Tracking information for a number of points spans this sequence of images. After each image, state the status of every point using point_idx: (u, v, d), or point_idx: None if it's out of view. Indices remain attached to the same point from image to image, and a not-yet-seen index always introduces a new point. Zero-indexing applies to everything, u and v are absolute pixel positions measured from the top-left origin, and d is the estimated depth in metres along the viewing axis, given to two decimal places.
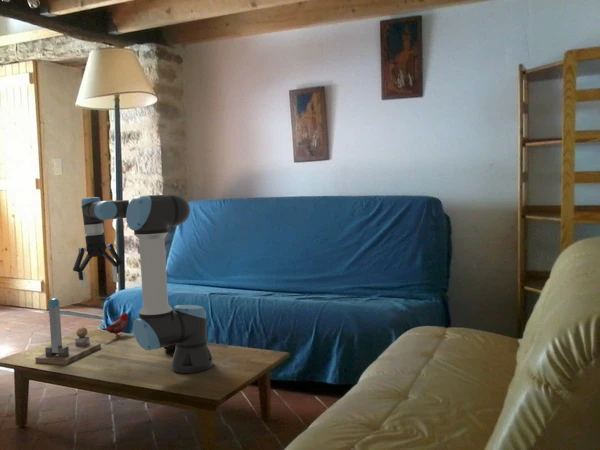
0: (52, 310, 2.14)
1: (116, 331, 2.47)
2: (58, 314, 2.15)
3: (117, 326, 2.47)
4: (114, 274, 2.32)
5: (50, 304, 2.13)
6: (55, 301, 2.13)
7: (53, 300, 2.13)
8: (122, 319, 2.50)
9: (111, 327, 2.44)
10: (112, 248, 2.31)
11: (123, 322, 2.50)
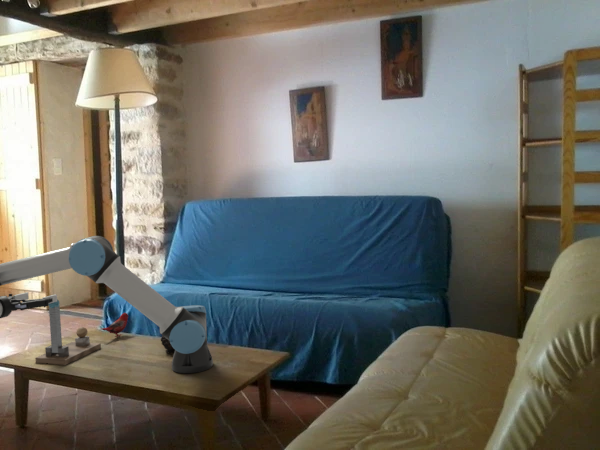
0: (52, 310, 2.14)
1: (116, 331, 2.47)
2: (58, 314, 2.15)
3: (117, 326, 2.47)
4: (21, 296, 2.07)
5: (50, 304, 2.13)
6: None
7: None
8: (122, 319, 2.50)
9: (111, 327, 2.44)
10: None
11: (123, 322, 2.50)
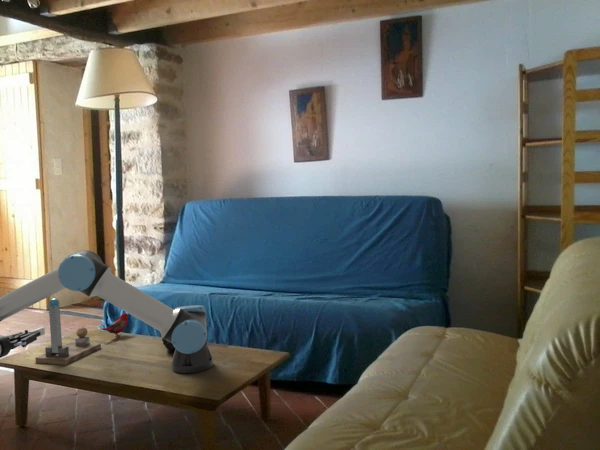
0: (52, 310, 2.14)
1: (116, 331, 2.47)
2: (58, 314, 2.15)
3: (117, 326, 2.47)
4: None
5: (50, 304, 2.13)
6: (55, 301, 2.13)
7: (53, 300, 2.13)
8: (122, 319, 2.50)
9: (111, 327, 2.44)
10: None
11: (123, 322, 2.50)
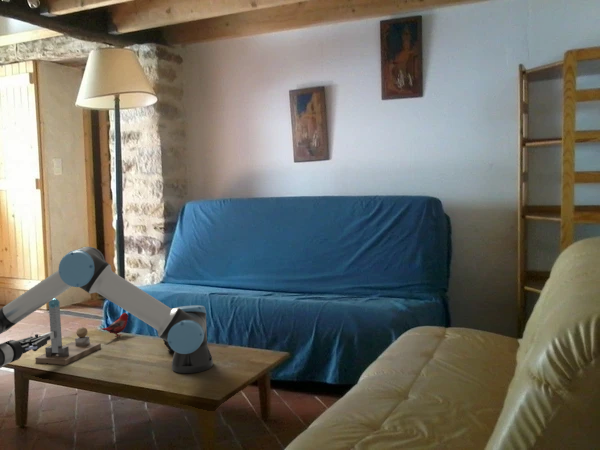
0: (52, 310, 2.14)
1: (116, 331, 2.47)
2: (58, 314, 2.15)
3: (117, 326, 2.47)
4: None
5: (50, 304, 2.13)
6: (55, 301, 2.13)
7: (53, 300, 2.13)
8: (122, 319, 2.50)
9: (111, 326, 2.44)
10: None
11: (123, 322, 2.50)
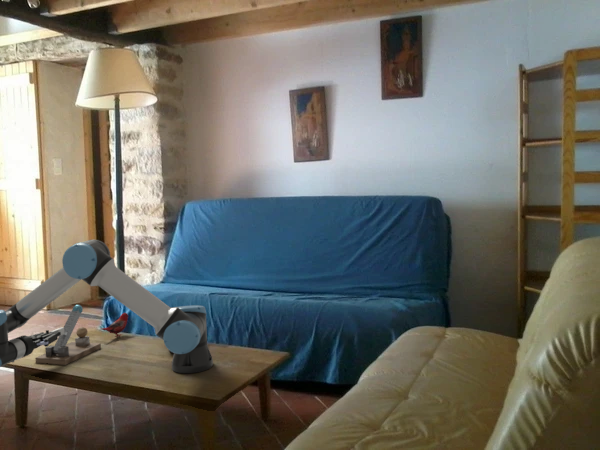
0: (73, 313, 2.26)
1: (116, 331, 2.47)
2: (76, 319, 2.25)
3: (117, 326, 2.47)
4: None
5: (75, 307, 2.27)
6: (80, 306, 2.28)
7: (79, 305, 2.28)
8: (122, 319, 2.50)
9: (111, 327, 2.44)
10: None
11: (123, 322, 2.50)
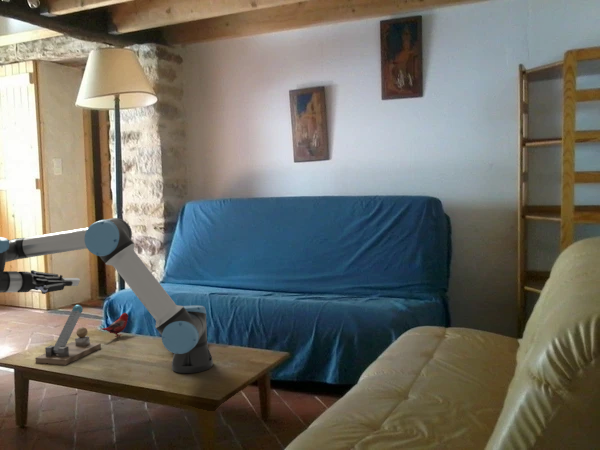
0: (73, 313, 2.26)
1: (116, 331, 2.47)
2: (76, 319, 2.25)
3: (117, 326, 2.47)
4: None
5: (75, 307, 2.27)
6: (80, 306, 2.28)
7: (79, 305, 2.28)
8: (122, 319, 2.50)
9: (111, 327, 2.44)
10: (36, 272, 2.05)
11: (123, 322, 2.50)
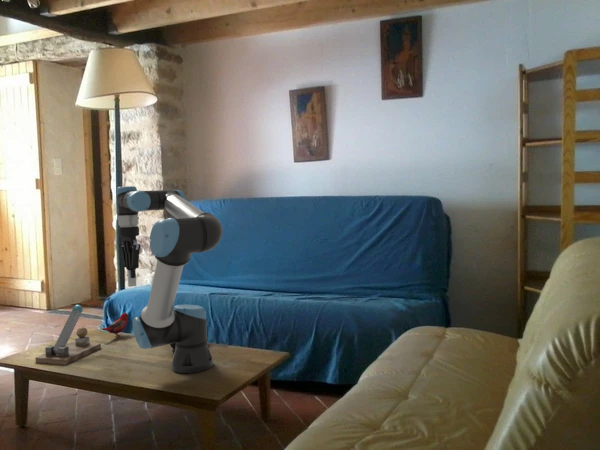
0: (73, 313, 2.26)
1: (116, 331, 2.47)
2: (76, 319, 2.25)
3: (117, 326, 2.47)
4: None
5: (75, 307, 2.27)
6: (80, 306, 2.28)
7: (79, 305, 2.28)
8: (122, 319, 2.50)
9: (111, 327, 2.44)
10: (133, 249, 2.07)
11: (123, 322, 2.50)
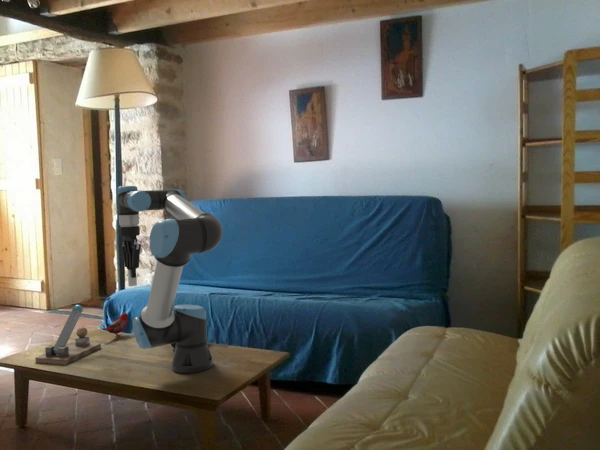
0: (73, 313, 2.26)
1: (116, 331, 2.47)
2: (76, 319, 2.25)
3: (117, 326, 2.47)
4: None
5: (75, 307, 2.27)
6: (80, 306, 2.28)
7: (79, 305, 2.28)
8: (122, 319, 2.50)
9: (111, 326, 2.44)
10: (133, 249, 2.07)
11: (123, 322, 2.50)
